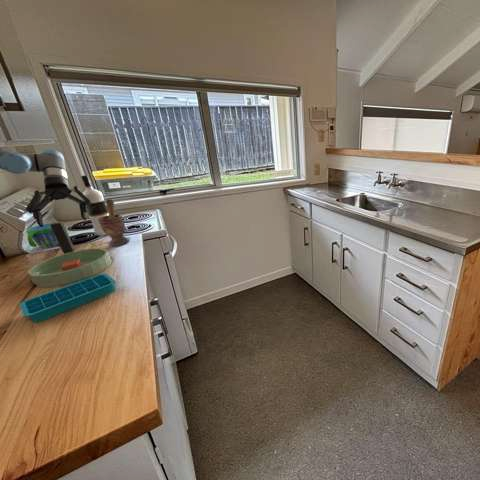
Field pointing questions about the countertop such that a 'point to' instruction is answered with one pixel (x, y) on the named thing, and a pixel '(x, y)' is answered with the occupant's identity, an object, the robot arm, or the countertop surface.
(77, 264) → the block
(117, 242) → the mortar and pestle
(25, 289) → the countertop surface
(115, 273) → the countertop surface
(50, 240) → the green blue printed package
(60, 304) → the ice cube tray
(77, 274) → the bowl
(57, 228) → the dark grey bar
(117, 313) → the countertop surface
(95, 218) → the vodka
